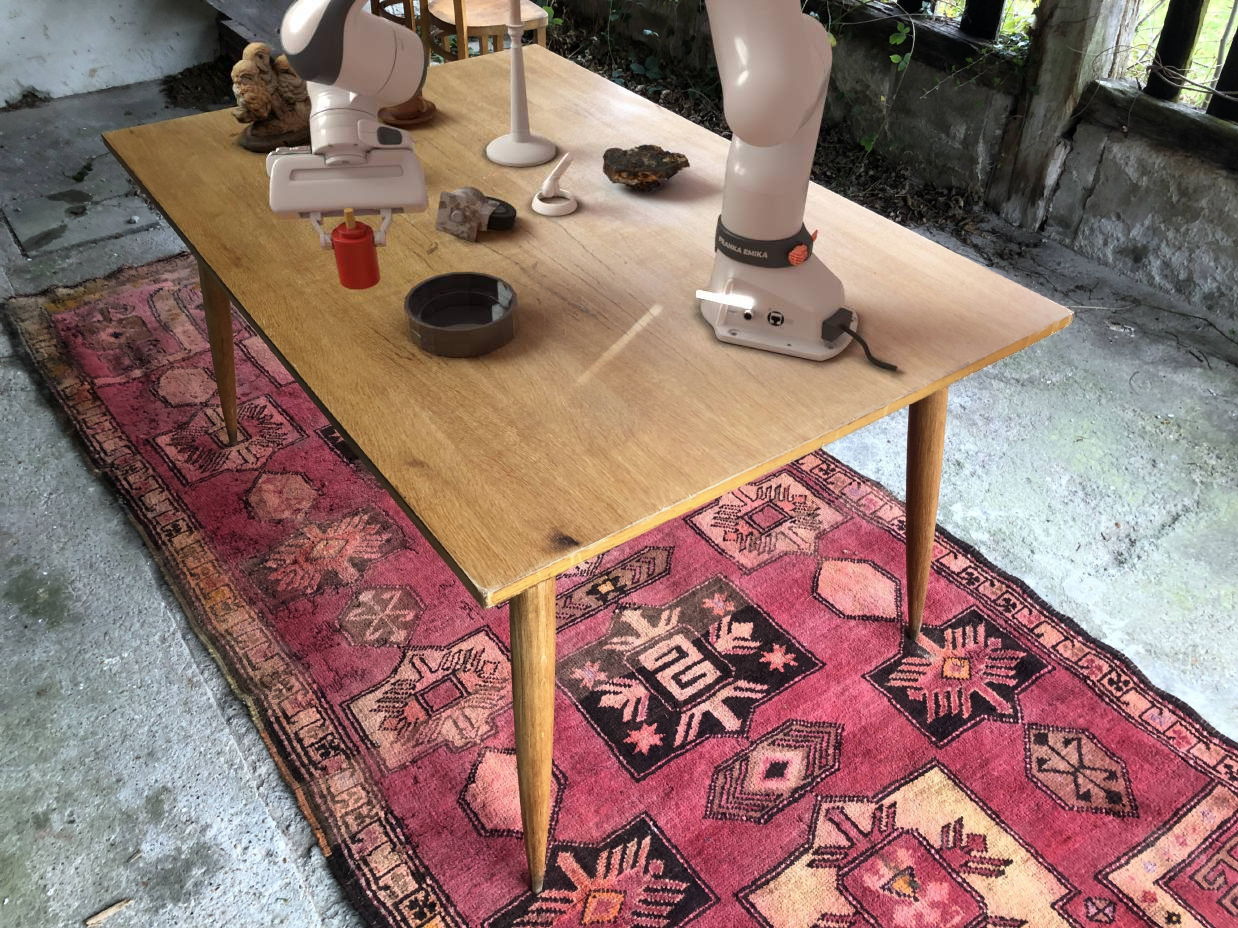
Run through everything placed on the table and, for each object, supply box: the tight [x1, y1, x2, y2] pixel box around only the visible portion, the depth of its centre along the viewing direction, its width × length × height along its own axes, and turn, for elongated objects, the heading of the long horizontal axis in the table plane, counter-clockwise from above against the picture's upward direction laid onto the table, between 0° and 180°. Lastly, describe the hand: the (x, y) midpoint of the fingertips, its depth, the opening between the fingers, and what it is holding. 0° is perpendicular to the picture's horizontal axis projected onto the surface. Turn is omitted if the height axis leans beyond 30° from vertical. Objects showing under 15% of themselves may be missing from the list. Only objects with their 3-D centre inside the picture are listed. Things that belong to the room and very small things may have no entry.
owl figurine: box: [230, 42, 312, 153], centre depth 179 cm, size 18×12×17 cm, turn 148°
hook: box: [531, 152, 578, 217], centre depth 163 cm, size 8×12×7 cm
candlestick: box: [486, 0, 557, 168], centre depth 172 cm, size 13×13×30 cm
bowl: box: [403, 271, 519, 358], centre depth 135 cm, size 15×15×5 cm
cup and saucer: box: [377, 89, 437, 126], centre depth 191 cm, size 12×12×6 cm
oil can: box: [330, 208, 382, 291], centre depth 129 cm, size 5×5×10 cm
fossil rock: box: [602, 144, 691, 193], centre depth 171 cm, size 14×14×6 cm
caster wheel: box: [434, 186, 518, 243], centre depth 158 cm, size 7×11×10 cm
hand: (354, 247), depth 128 cm, fingers closed on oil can, 5 cm apart
